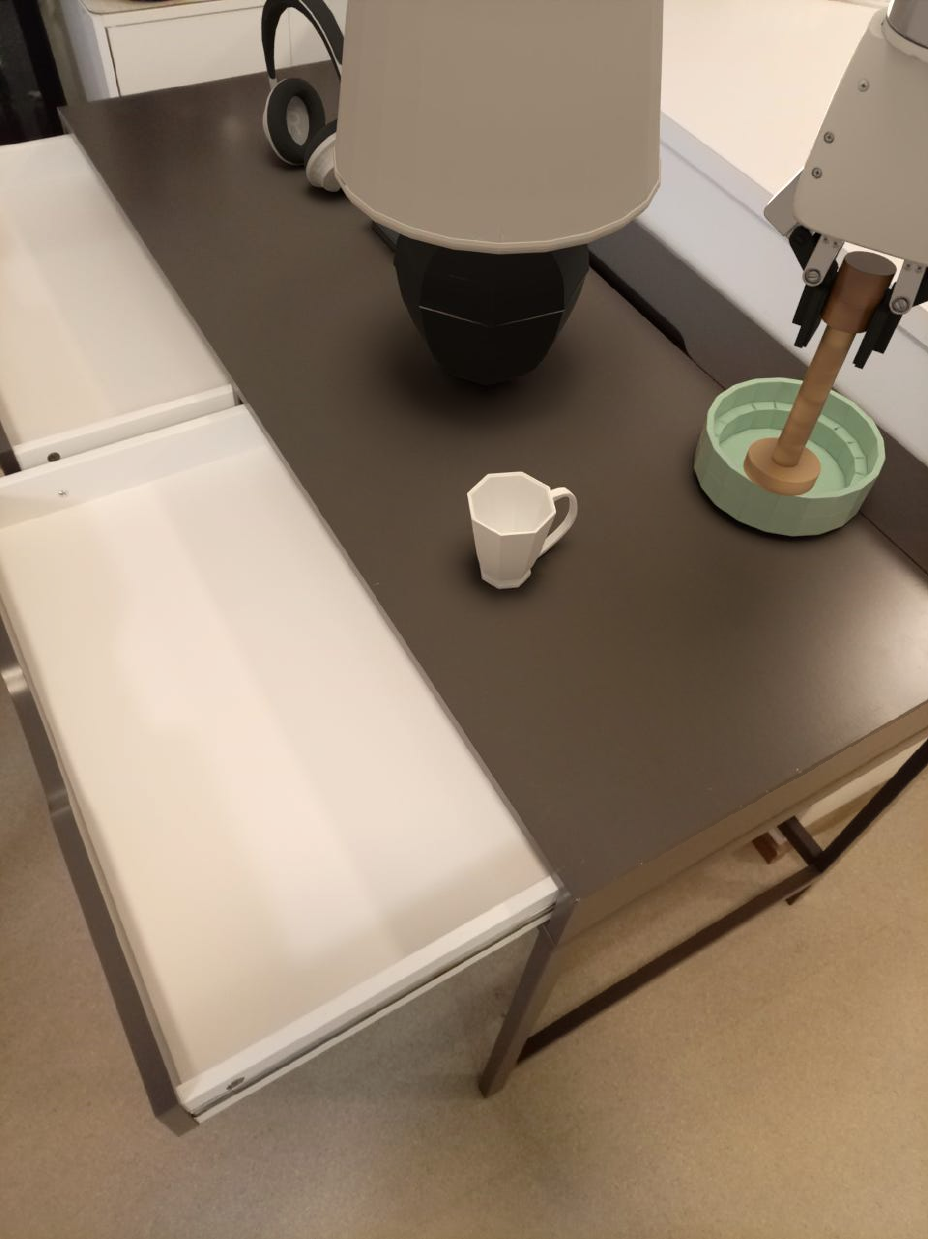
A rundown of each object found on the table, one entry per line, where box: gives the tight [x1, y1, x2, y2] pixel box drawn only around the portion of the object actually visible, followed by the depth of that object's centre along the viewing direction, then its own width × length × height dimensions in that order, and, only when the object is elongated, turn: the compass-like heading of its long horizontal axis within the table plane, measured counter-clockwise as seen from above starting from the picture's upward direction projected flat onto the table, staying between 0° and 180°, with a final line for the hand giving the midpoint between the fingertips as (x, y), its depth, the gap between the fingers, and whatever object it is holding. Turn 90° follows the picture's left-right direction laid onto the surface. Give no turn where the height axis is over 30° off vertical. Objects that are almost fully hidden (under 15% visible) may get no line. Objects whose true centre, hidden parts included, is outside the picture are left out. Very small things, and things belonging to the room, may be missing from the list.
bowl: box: [693, 377, 886, 537], centre depth 79 cm, size 15×15×6 cm
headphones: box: [260, 0, 345, 193], centre depth 103 cm, size 19×8×20 cm, turn 38°
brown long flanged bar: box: [743, 250, 898, 496], centre depth 57 cm, size 5×5×15 cm
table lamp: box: [333, 0, 665, 386], centre depth 74 cm, size 27×27×40 cm
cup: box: [466, 471, 579, 590], centre depth 72 cm, size 7×10×8 cm
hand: (835, 343), depth 55 cm, fingers closed on brown long flanged bar, 3 cm apart
